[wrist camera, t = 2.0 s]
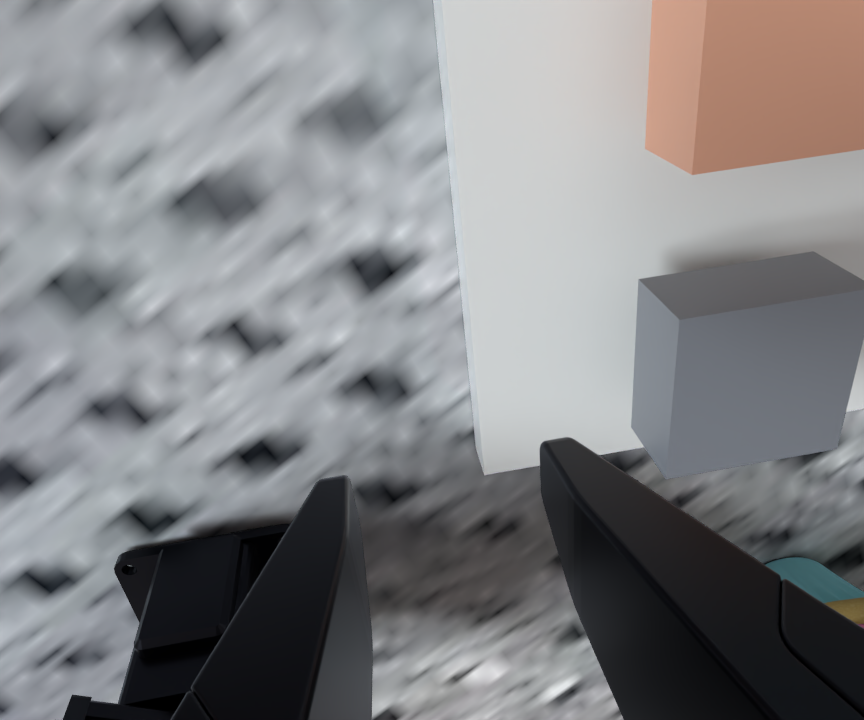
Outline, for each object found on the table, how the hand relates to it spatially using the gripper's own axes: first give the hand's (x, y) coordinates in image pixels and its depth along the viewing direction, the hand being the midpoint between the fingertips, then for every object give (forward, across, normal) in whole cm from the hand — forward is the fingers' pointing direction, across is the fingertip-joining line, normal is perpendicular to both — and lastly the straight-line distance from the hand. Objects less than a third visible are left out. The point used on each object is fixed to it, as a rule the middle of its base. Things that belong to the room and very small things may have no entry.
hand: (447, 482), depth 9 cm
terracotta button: (+9, -9, -4) cm, 13 cm away
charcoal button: (+9, -9, +4) cm, 14 cm away
